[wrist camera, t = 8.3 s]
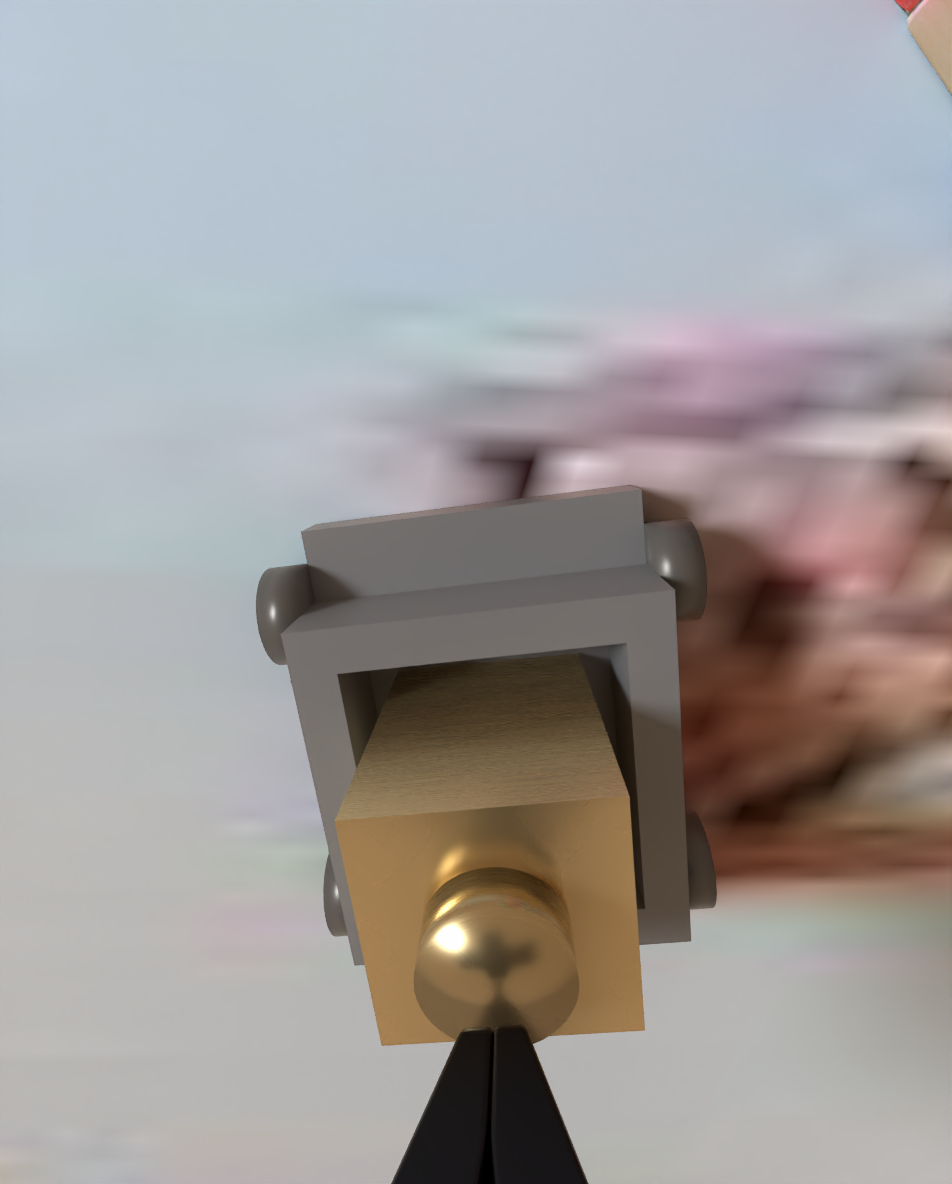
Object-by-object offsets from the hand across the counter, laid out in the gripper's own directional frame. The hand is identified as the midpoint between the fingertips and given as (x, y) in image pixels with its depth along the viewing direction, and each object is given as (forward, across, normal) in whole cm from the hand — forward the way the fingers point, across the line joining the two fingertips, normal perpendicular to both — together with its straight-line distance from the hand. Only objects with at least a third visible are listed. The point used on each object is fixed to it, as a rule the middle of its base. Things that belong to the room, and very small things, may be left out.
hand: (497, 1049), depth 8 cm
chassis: (+9, 0, 0) cm, 9 cm away
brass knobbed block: (+8, 0, 0) cm, 8 cm away
